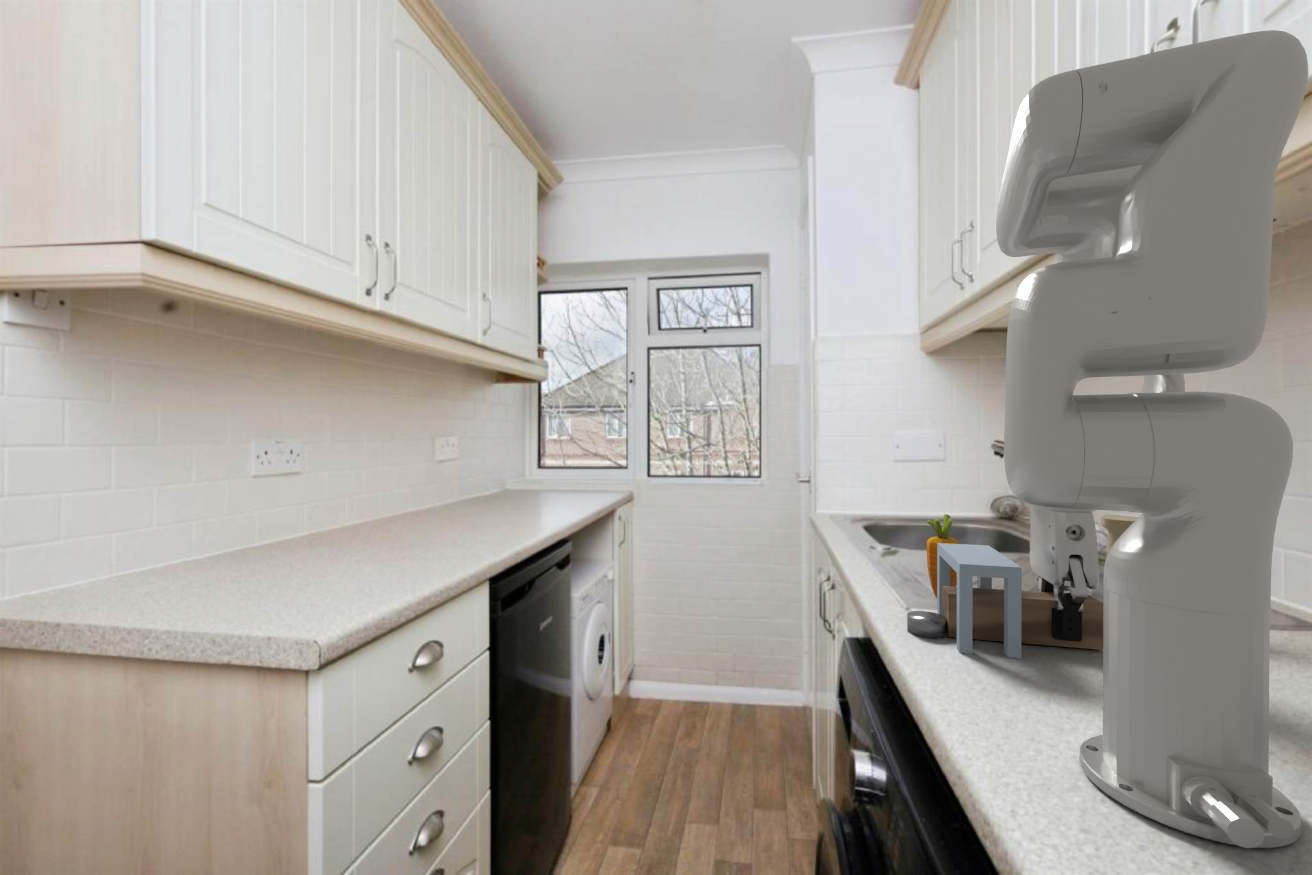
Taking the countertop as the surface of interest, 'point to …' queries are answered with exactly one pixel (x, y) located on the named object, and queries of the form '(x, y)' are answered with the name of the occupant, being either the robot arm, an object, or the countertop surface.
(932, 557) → the carrot
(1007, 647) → the low shelf
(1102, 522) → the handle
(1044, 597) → the brown block
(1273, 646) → the countertop surface
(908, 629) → the grey metal short cylinder
